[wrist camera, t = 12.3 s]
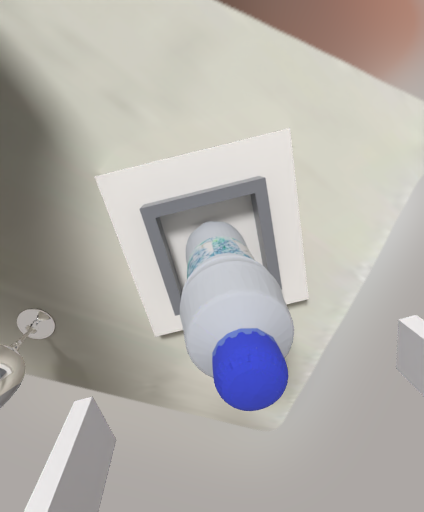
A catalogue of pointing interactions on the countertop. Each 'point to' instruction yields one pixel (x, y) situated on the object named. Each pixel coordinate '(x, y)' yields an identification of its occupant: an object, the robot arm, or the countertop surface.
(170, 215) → the dock
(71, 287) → the countertop surface
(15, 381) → the wineglass
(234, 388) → the bottle
